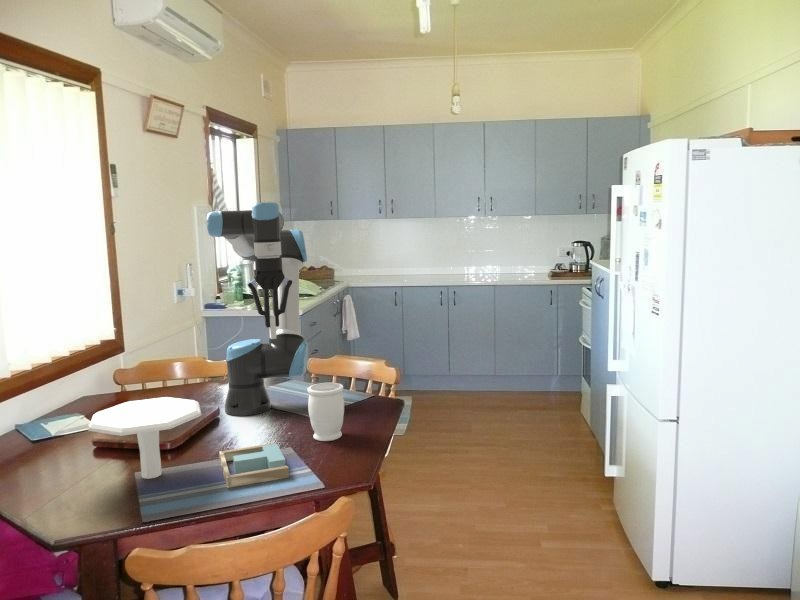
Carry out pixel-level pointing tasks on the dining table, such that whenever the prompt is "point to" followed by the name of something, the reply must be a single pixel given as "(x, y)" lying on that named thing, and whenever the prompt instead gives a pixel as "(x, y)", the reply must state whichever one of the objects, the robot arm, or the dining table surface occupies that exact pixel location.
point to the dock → (249, 476)
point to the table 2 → (146, 425)
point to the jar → (326, 410)
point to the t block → (259, 460)
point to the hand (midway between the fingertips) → (273, 337)
